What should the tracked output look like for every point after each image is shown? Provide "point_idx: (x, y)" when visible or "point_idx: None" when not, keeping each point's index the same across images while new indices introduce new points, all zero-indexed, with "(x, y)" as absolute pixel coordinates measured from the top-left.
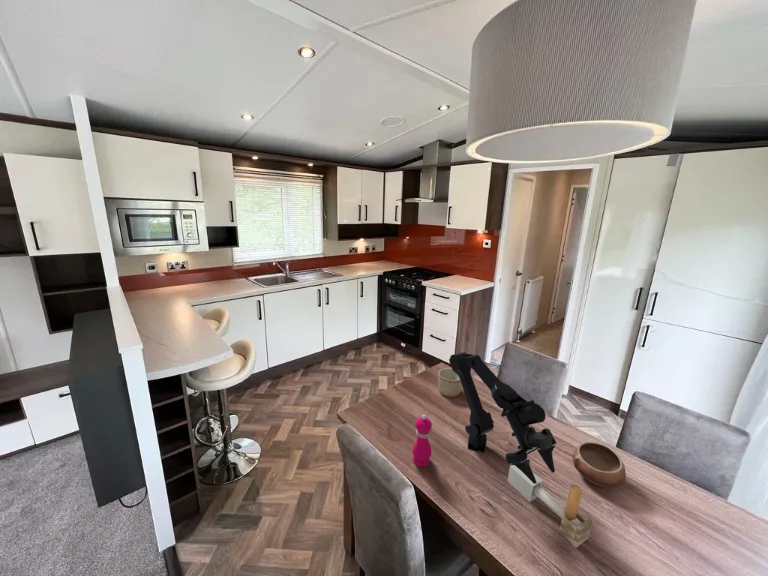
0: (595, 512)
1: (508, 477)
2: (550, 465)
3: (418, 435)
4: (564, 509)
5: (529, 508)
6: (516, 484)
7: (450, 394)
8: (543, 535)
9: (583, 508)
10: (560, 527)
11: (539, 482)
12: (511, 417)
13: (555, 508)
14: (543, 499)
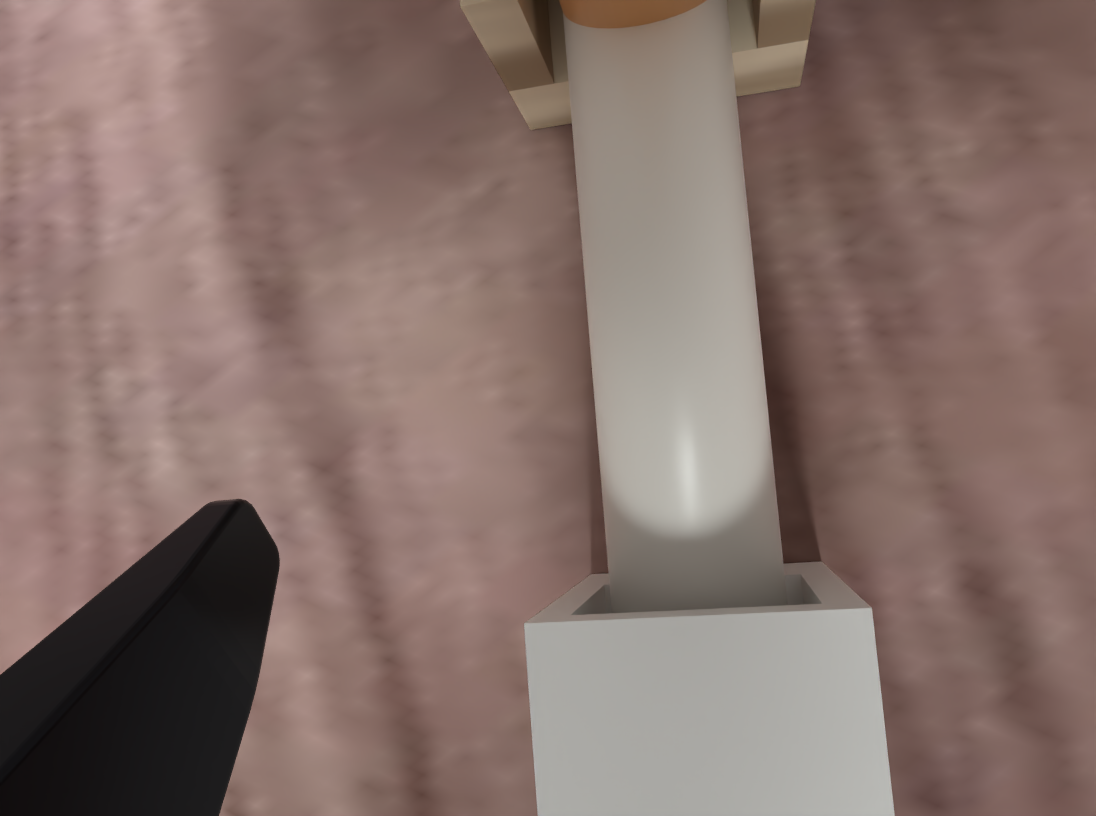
0: (147, 135)
1: None
2: (170, 675)
3: None
4: (640, 44)
5: (913, 487)
6: None
7: None
8: (1060, 113)
9: (221, 219)
10: (806, 41)
11: (624, 616)
12: None
13: (736, 154)
14: (763, 382)
